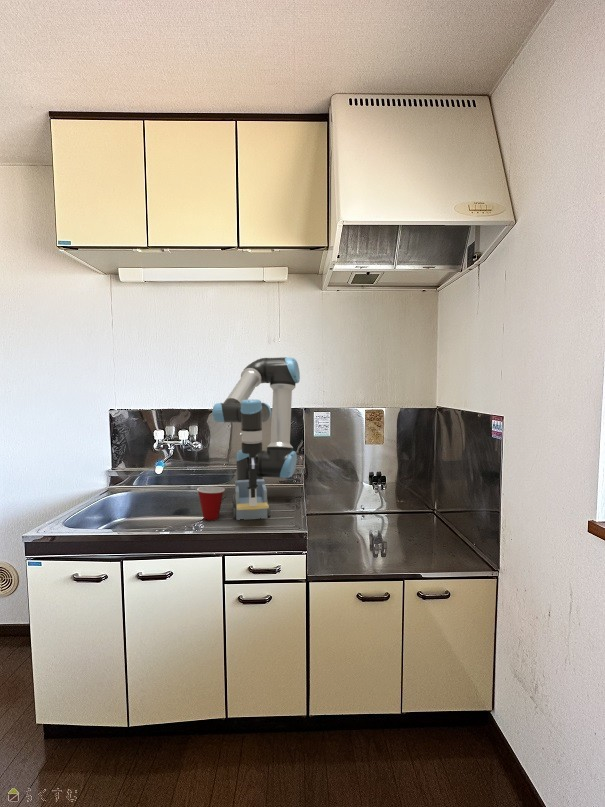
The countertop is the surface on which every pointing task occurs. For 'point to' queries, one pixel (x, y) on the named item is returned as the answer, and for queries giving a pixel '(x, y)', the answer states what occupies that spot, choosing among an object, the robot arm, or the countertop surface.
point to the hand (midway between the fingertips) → (253, 505)
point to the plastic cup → (210, 501)
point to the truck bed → (243, 498)
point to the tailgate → (246, 506)
